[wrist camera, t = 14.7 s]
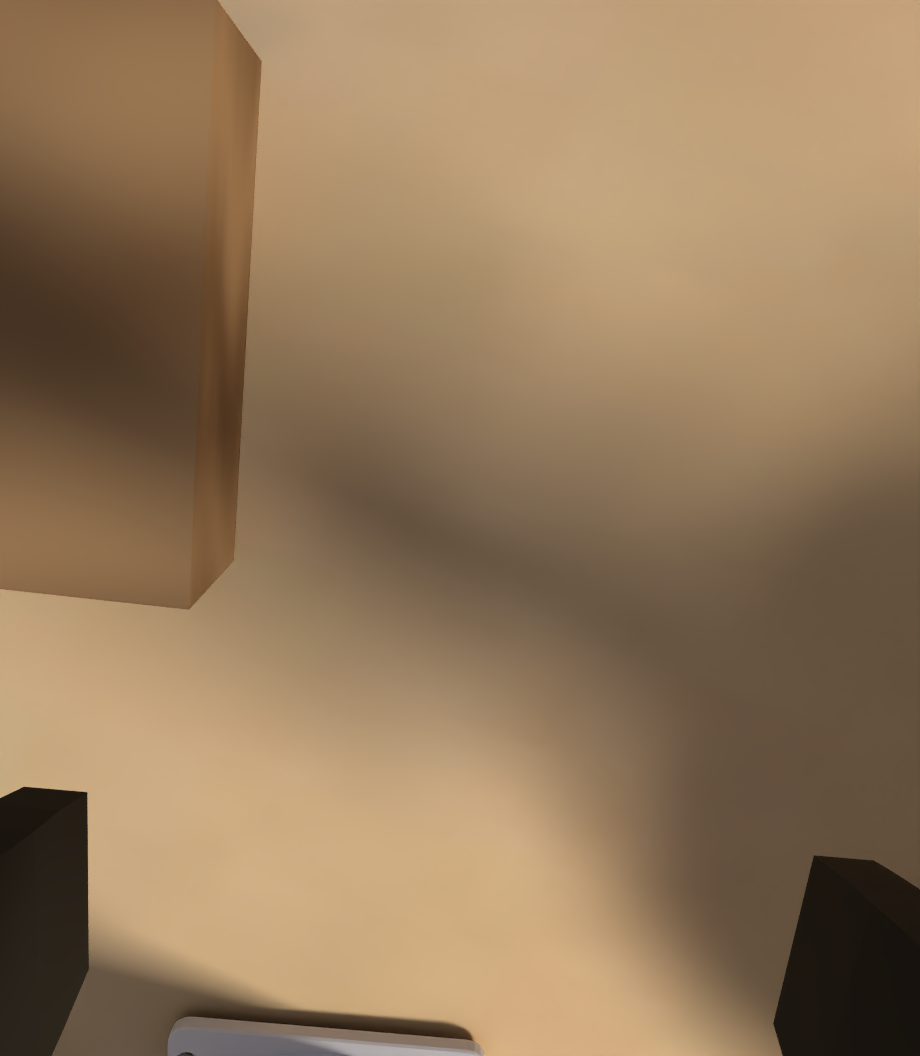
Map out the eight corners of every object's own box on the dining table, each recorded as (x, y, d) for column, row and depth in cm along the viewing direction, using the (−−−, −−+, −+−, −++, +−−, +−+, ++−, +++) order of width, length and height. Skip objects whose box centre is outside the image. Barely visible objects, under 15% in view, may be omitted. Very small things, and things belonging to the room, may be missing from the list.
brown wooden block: (237, 556, 18) (189, 609, 15) (-35, 525, 18) (-147, 572, 15) (265, 66, 16) (215, -2, 13) (-48, 23, 16) (-186, -59, 12)
